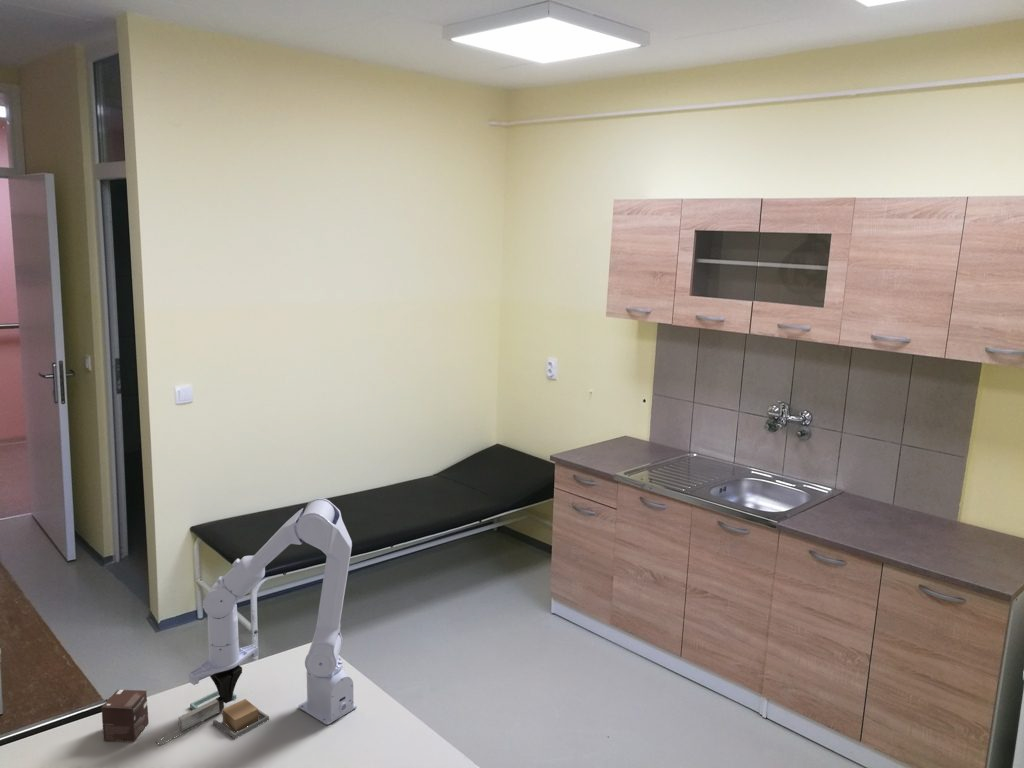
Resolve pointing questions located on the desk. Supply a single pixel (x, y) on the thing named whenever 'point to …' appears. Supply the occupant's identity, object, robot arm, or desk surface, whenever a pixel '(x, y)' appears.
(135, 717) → the box
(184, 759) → the desk surface
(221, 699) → the bar
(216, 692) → the frame
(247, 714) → the plug
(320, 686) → the robot arm
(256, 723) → the socket
